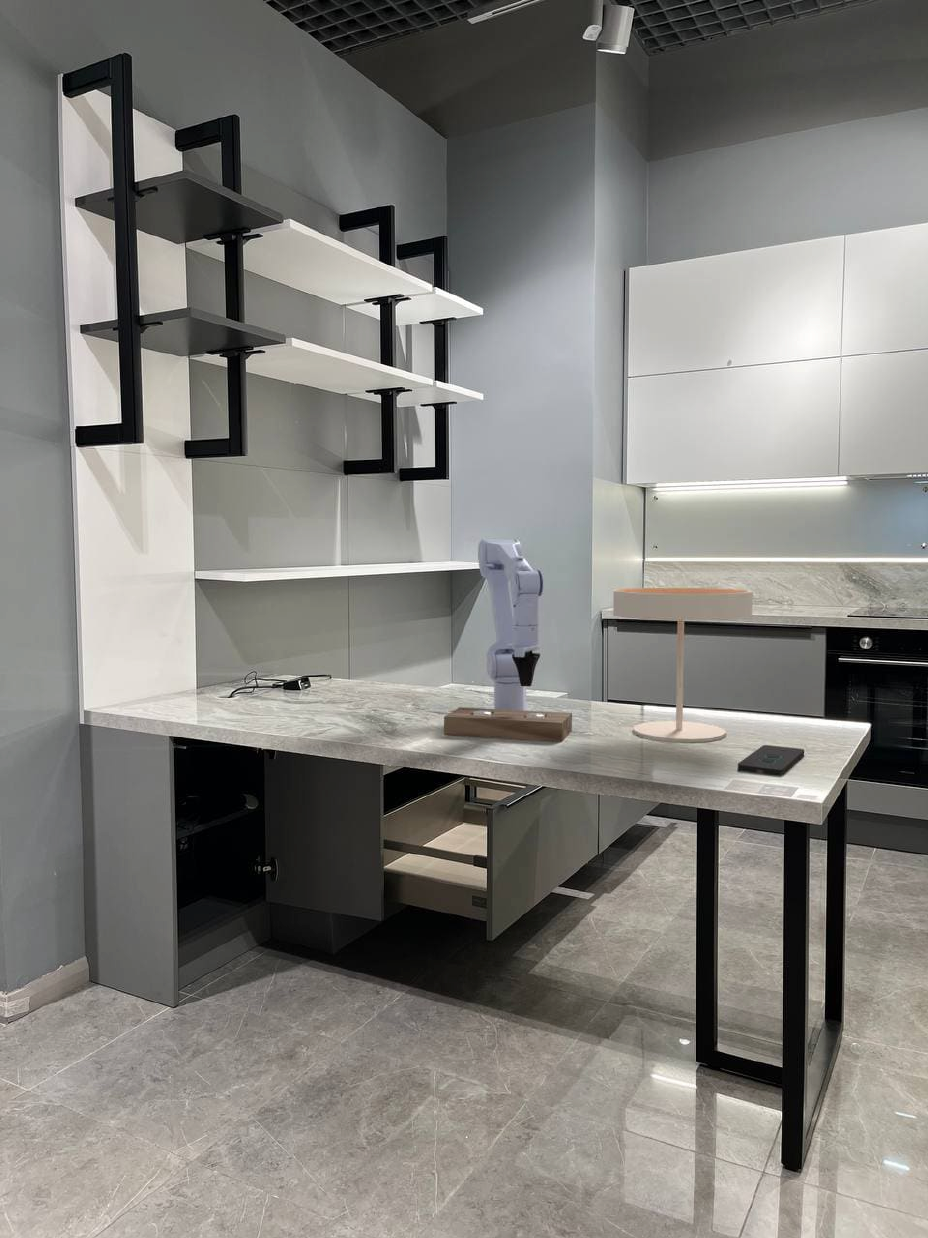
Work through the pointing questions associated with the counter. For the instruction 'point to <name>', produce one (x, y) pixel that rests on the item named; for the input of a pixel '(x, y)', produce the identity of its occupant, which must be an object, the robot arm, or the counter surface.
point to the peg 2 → (535, 715)
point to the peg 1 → (482, 713)
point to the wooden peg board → (508, 724)
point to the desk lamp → (681, 641)
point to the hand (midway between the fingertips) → (526, 686)
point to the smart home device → (771, 760)
